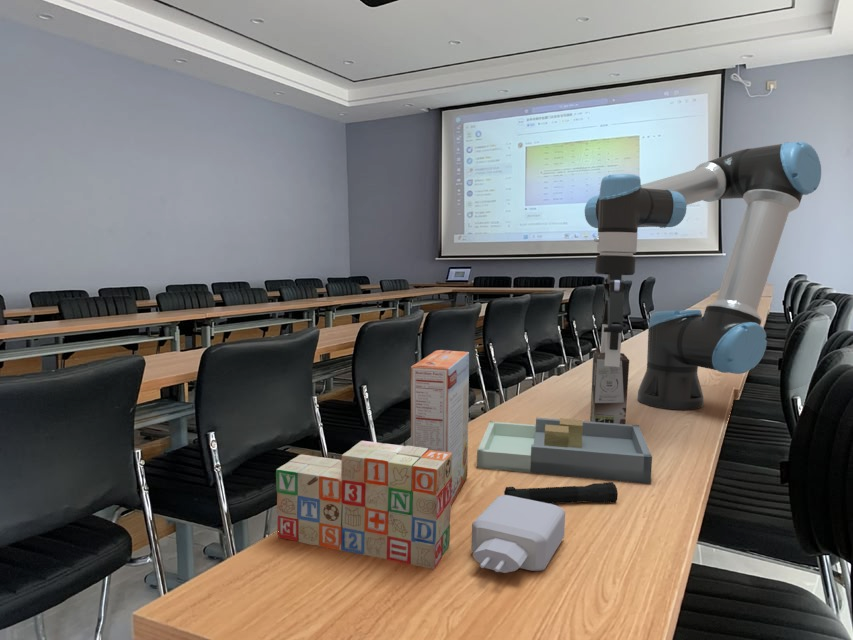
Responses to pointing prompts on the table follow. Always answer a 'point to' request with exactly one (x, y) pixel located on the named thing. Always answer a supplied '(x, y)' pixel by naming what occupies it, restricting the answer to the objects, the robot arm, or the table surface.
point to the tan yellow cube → (556, 436)
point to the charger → (517, 534)
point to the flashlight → (568, 493)
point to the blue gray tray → (595, 453)
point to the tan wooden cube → (573, 431)
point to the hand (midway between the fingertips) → (609, 360)
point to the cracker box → (442, 408)
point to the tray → (506, 447)
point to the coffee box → (609, 390)
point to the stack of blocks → (370, 502)
